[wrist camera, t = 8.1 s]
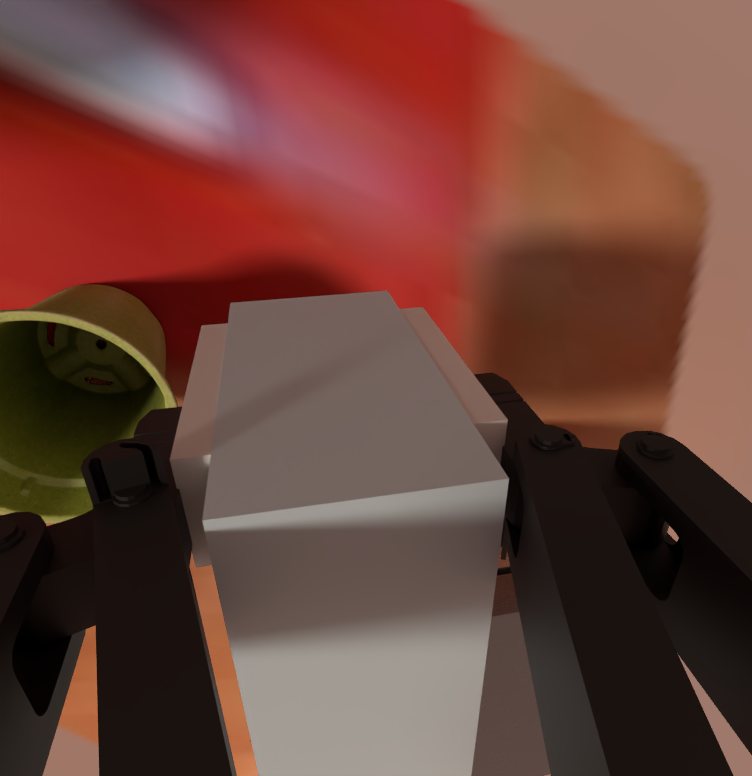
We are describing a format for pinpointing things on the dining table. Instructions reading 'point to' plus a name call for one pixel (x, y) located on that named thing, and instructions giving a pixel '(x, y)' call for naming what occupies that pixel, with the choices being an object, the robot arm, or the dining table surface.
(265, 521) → the upright grey box
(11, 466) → the plant pot
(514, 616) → the box
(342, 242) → the dining table surface
